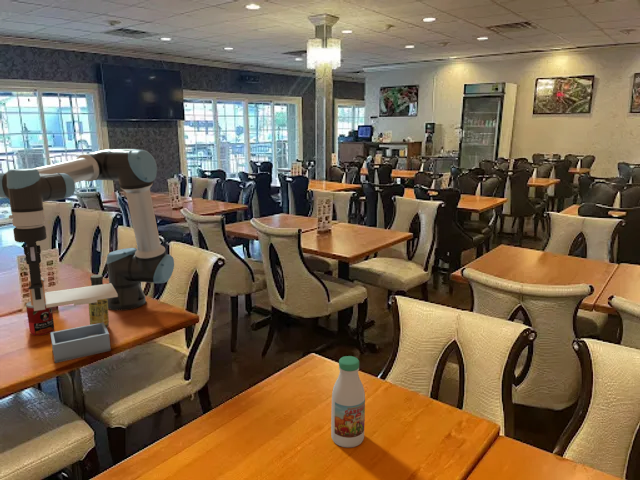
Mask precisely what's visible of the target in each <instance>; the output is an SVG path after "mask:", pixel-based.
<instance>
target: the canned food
mask: <svg viewBox="0 0 640 480" xmlns="http://www.w3.org/2000/svg"><path fill="white" fill-rule="evenodd" d="M25 307H26V315H27V321H28V322H27V323H28V330H29V332H30V335H32V336H44V335H48V334H50V333H51V332H54V330H55V323H54V314H53V307H49V308H46V304H45V309H44V310H38V311H34V306H31V300H29V301H28V302H26V304H25Z"/></svg>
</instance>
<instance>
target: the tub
mask: <svg viewBox="0 0 640 480" xmlns="http://www.w3.org/2000/svg"><path fill="white" fill-rule="evenodd" d="M49 335H50V340H51V346H52V347H51V349H52V355H53V359H54V363H55V364H56V363H61V362H67V361H70V360H75V359H80V358H85V357H88V356H93V355H97V354H100V353H101V354H102V353H105V352H110V351H112V348H111V340H110V333H109V331H108V328H106V326H105V324H104V322H102V323H97V324H92V325H90V324H88V325H82V326H77V327H73V328H72V327H71V328H67V329H62V330H56V331H52V332H50V333H49Z"/></svg>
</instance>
